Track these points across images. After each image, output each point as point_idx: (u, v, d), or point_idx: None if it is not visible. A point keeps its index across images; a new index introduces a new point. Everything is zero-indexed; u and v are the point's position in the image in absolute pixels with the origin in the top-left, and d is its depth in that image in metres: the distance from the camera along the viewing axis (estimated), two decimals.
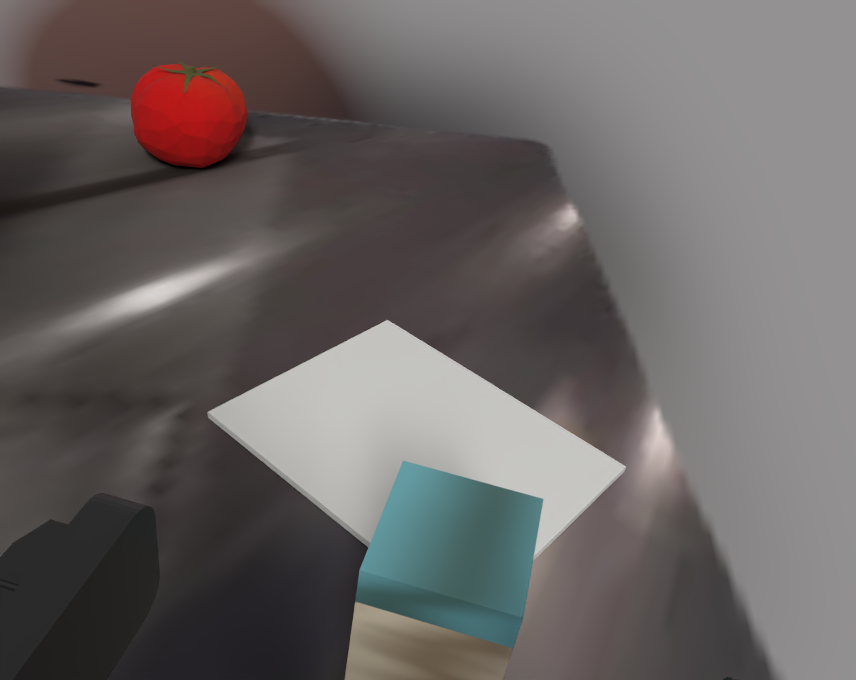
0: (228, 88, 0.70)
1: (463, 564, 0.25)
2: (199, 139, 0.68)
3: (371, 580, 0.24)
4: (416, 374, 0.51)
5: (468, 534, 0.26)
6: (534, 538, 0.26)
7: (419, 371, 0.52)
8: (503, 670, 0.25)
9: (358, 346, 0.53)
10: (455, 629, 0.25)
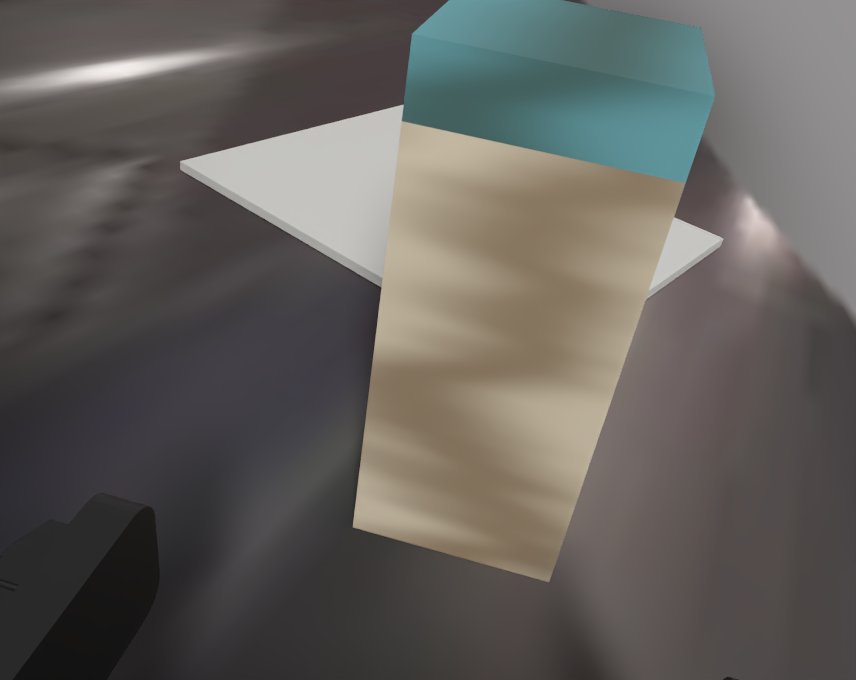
0: None
1: (592, 50, 0.14)
2: None
3: (432, 57, 0.14)
4: None
5: (592, 33, 0.15)
6: (701, 48, 0.15)
7: None
8: (660, 244, 0.14)
9: (373, 121, 0.42)
10: (582, 155, 0.14)
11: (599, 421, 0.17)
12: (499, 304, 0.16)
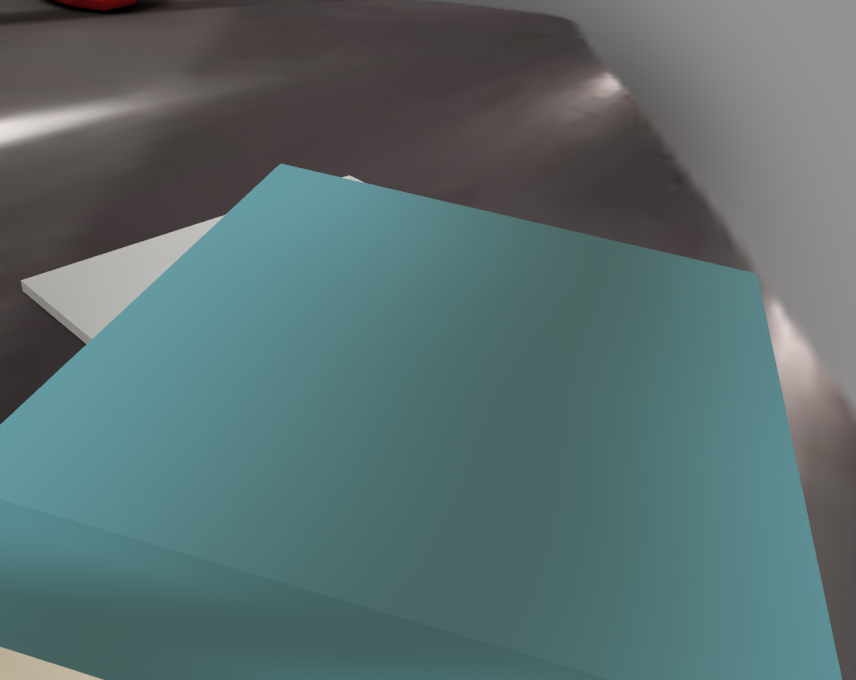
0: None
1: (490, 466, 0.05)
2: None
3: (12, 538, 0.05)
4: None
5: (506, 357, 0.06)
6: (770, 380, 0.06)
7: None
8: None
9: None
10: None
11: None
12: None
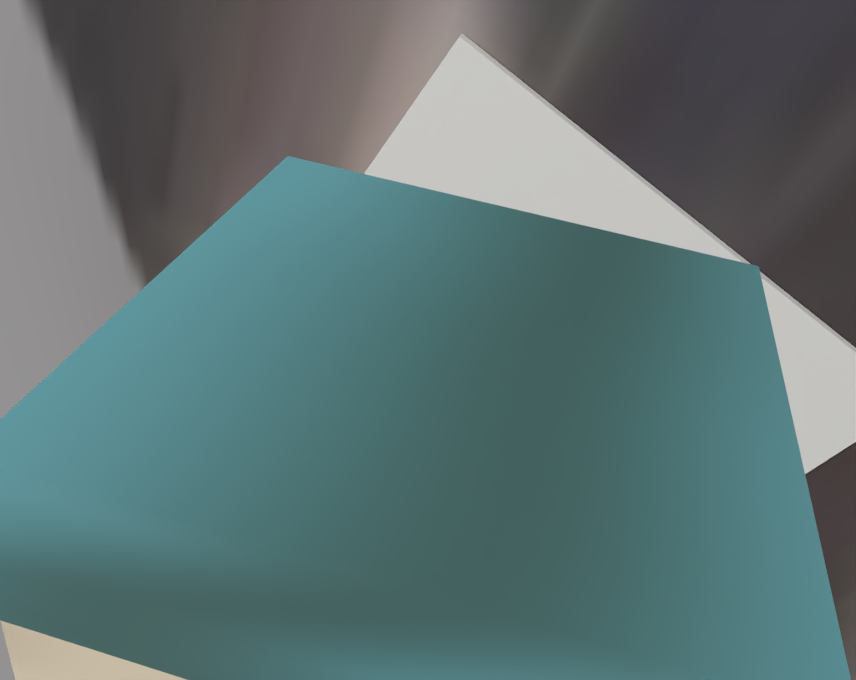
0: None
1: (498, 447, 0.05)
2: None
3: (28, 514, 0.05)
4: None
5: (513, 344, 0.06)
6: (772, 367, 0.07)
7: None
8: None
9: None
10: None
11: None
12: None
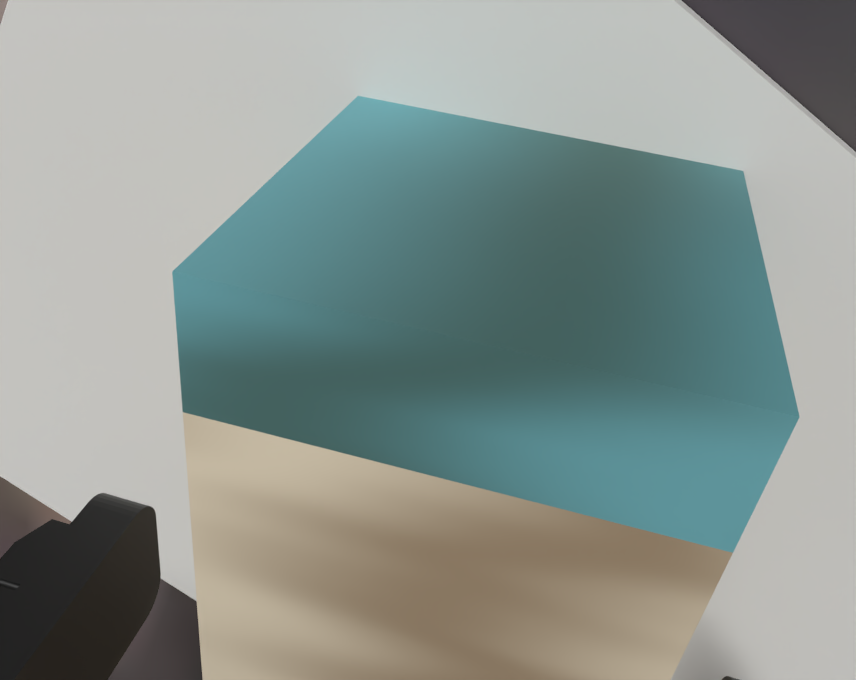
0: None
1: (544, 274, 0.07)
2: None
3: (218, 314, 0.07)
4: None
5: (550, 216, 0.08)
6: (751, 233, 0.09)
7: None
8: (683, 636, 0.08)
9: None
10: (525, 491, 0.07)
11: None
12: None
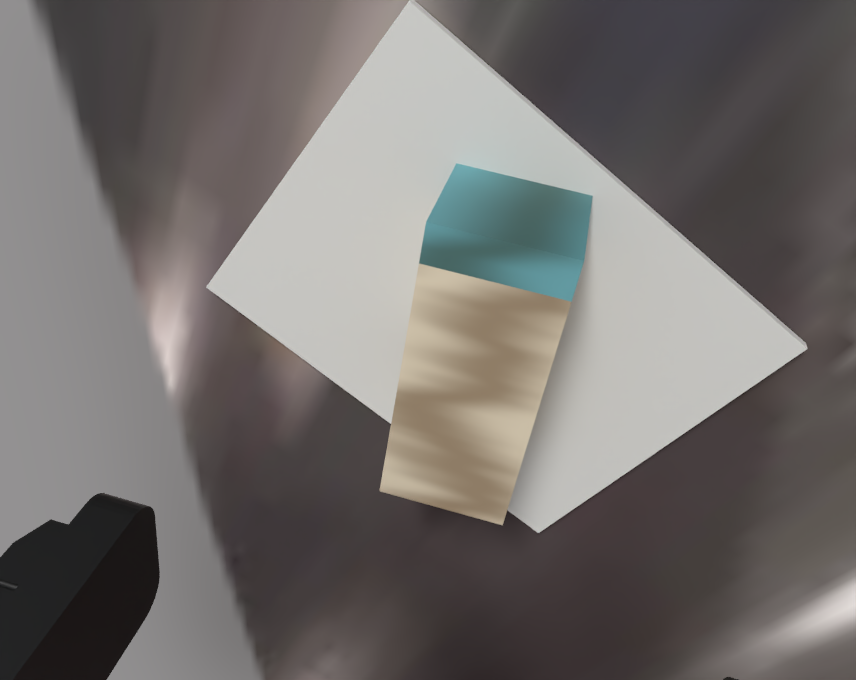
0: None
1: (523, 226, 0.26)
2: None
3: (436, 233, 0.25)
4: None
5: (525, 210, 0.27)
6: (587, 217, 0.27)
7: None
8: (560, 331, 0.26)
9: (579, 482, 0.36)
10: (516, 285, 0.26)
11: (530, 427, 0.29)
12: (472, 360, 0.28)
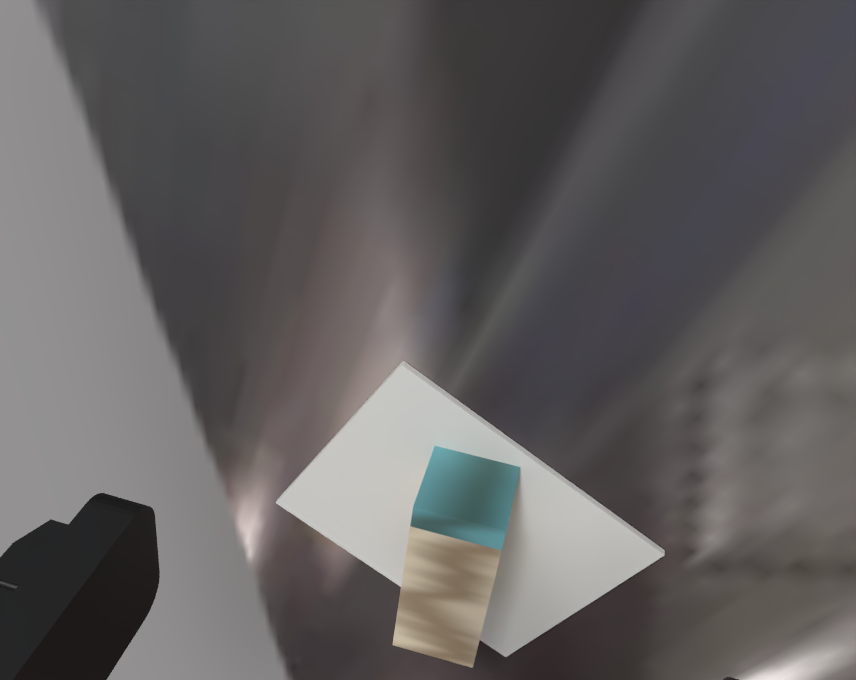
0: None
1: (472, 503, 0.43)
2: None
3: (419, 512, 0.43)
4: None
5: (475, 487, 0.44)
6: (514, 489, 0.44)
7: None
8: (496, 565, 0.43)
9: (530, 627, 0.53)
10: (468, 540, 0.43)
11: (484, 613, 0.46)
12: (445, 576, 0.45)
